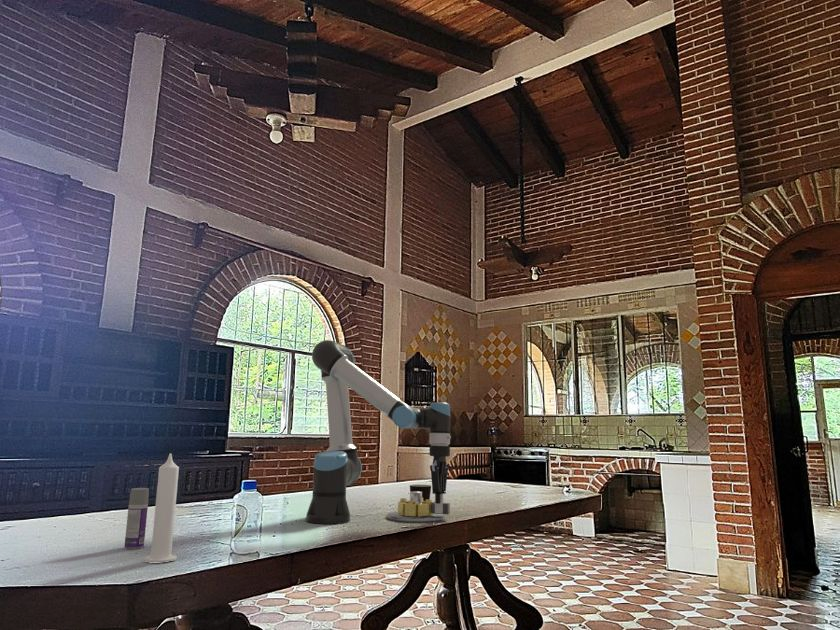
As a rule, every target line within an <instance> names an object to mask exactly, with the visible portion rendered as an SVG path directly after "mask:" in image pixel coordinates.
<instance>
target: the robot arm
mask: <svg viewBox="0 0 840 630" xmlns="http://www.w3.org/2000/svg"><path fill="white" fill-rule="evenodd" d="M311 360H312V362H313V364H314V366H315V367H316V368H317V369H319V370H320V373H321V376H320V377H321V380H322V381H323V382H324V383H325V388H326V389H325V390H326V404H327V407H326V408H327V417H328V418H327V419H328V420H327V421H328V435H329V437H328V438H329V447H328V448H327V449H326V451H321V452H318V453H316V454H315V456H314V459H313V460H314V461H313V463H312V464H313V465H312V466H313V473H312V475H313V476H312V497H311V501H310V504H309V506H308V510H307V511H306V516H305V517H306V518H305V521H306V522H307V523H310V524H311V523H312V524H318V525H319V524H321V525H323V524H324V525H326V524H327V525H328V524H330V525H331V524H332V525H333V524H334V525H335V524H336V525H337V524H343V523H348V522H350V520H351V512H350V508H349V505H348V501H347V487H348V486H351V485H353V484H354V483H356V482H357V480H359V478H360V477H361V475H362V471H363V465H362V462H361V460H360V458H359V457H358V456H359V455H358V449H357V446H356V445H355V444H354V443H353V431H352V419H351V417H352V415H351V405H350V404H351V403H350V402H351V401H350V389H351V390H352V391H354V392H355V393H356V394H357V395H359V396H361V398H363V399H364V400H366V401H367V402H368V403H369V404H371V405H372V406H373V407H375V409H377V410H379V412H381V413H382V414H384V415H385V416H387V417H388V419H390V420H391V421H392V422H393V423H394V425H395V426H397V427H399V428H400V429H403V430H404V429H407V430H408V429H429V445H430V446H429V452H428V453H429V456H430V457H433V458H432V459H433V460H432V464H431V465H429V469H430V476H431V492H432V493H431V494H432V495H434V502H435V513H443V503H444V495H445V494H447V492H446V490H447V481H448V472H449V468H450V467H449V464H447V459H446V457H447V458H448V457H450V456H451V447H450V446H449V445H450V444H451V438H452V435H451V417H452V415H451V405H450V404H449V403H448V402H431V403H430V404H429V407H425V408H424V407H411V406H410V405H408V404H407V403H405V402H404V401H403V400H401V399H400V398H399V397H398V396H396V395H395V394H394V393H392V392H391V391H390V390H388V389H387V388H386V387H384V386H383V385H381V384H380V383H379V382H378V381H377V380H375V379H374V378H373V377H371V376H370V375H368V373H366V372H365V371H363V370H362V369H361V368H359V367H358V366H357V365H355V364H354V362H355V357H354V354H353V353H352V351H351V350H350V349H349V348H348V347H347V346H346V345H344V344H341V343H338V342H336V341H334V340H330V339H326V340H322V341H319V342H318V343H317V344H316V345H315V346H314V348H313V349H312V352H311Z"/></svg>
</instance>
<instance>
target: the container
mask: <svg viewBox="0 0 840 630" xmlns="http://www.w3.org/2000/svg"><path fill="white" fill-rule="evenodd" d="M149 495H150V488H148V487H136V488H135V487H134V488H131V489H130V493H129V501H128V508H127V516H126V517H127V518H126V528H125V539H124V545H123V546H124V548H126V549H125V550H134V549H133V548H140V549H142V548H141V547H143V548H144V546H145V537H146V527H147V518H148V507H149Z"/></svg>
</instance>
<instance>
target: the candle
mask: <svg viewBox="0 0 840 630" xmlns="http://www.w3.org/2000/svg"><path fill="white" fill-rule="evenodd" d="M179 470H180V466H178V465H177V464H175V462H174V460H173V454H172V453H169V455H168V457H167V460H166V461H165V463H163V464H162V465H161V466H159V468H158V477H157V487H156V496H155V508H154V519H153V529H152V538H151V539H152V540H151V547H150V548H151V550H150V555H148V556H145V558H144V559H143V560H145V561H147V562H166V561H172V560H175V559H176V560H177V558H178V557H177V555H175V554H172V549H173V538H174V528H175V527H174V525H175V514H176V505H177V494H178V483H179V482H178V481H179ZM176 560H175V561H176ZM145 561H144V562H145Z"/></svg>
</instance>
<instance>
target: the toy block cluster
mask: <svg viewBox="0 0 840 630" xmlns="http://www.w3.org/2000/svg"><path fill="white" fill-rule="evenodd" d="M399 499H400V500H399V502H398V503H397V512H398V514H399V515H403V516H404V515H405V516H415V517H416V516H418V517H419V516H431V515H433V514H444V515H450V512H451V511H450V510H451V509H450V508H451V507H450V505H451V503H450V502H443V513H435V501H433V500H432V499H430V500H428V499H427V500H426V501H423V498H422V504H414V500H410V499H409V500H407V497H403V498H402V497H400V498H399Z"/></svg>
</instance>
